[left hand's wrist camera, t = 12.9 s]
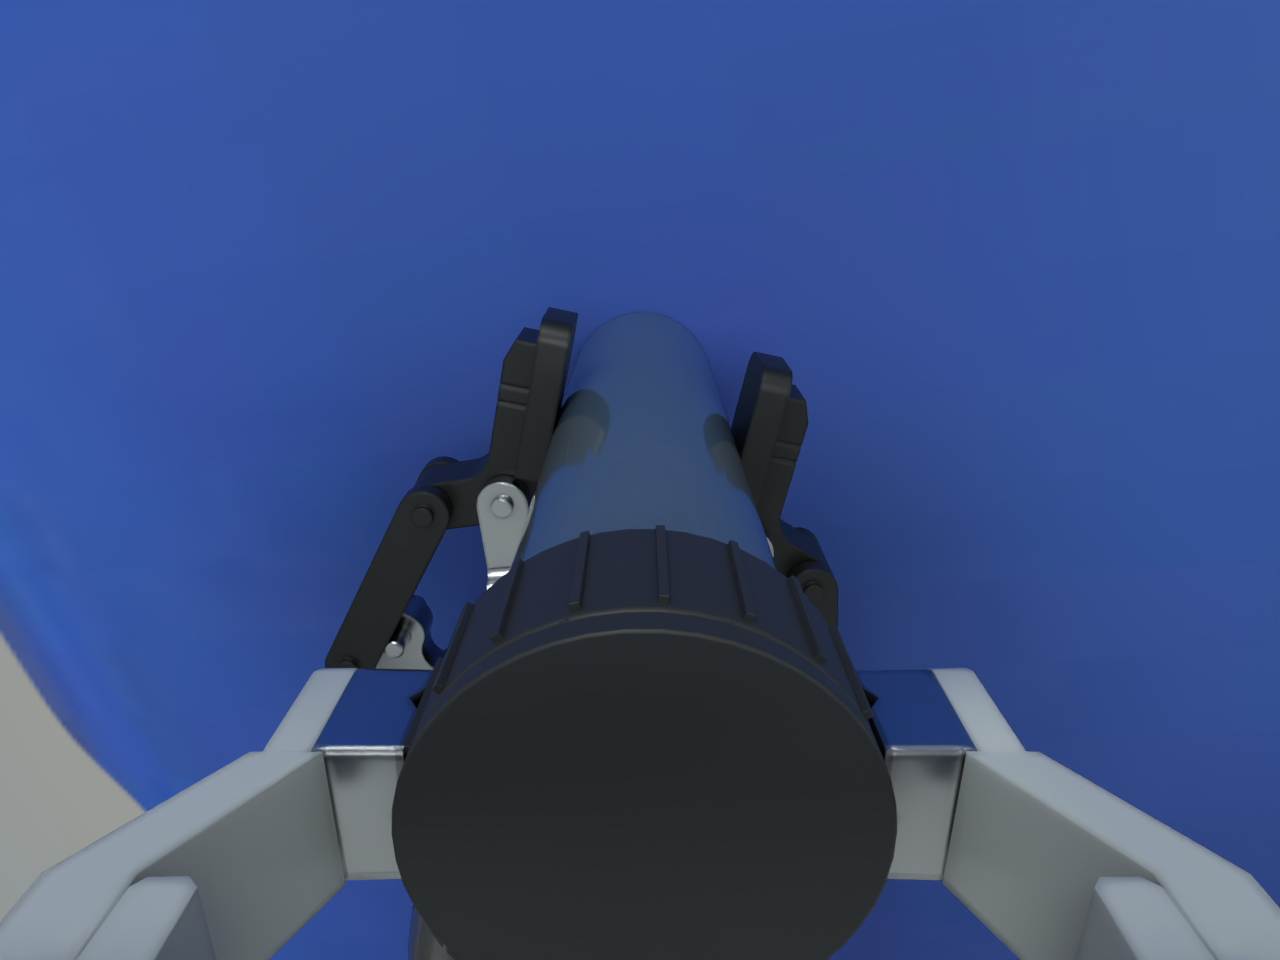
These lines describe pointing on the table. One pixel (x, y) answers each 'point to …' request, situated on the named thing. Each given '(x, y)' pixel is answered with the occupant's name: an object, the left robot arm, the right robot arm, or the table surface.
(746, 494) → the grey cylinder
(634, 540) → the lid
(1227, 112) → the table surface
